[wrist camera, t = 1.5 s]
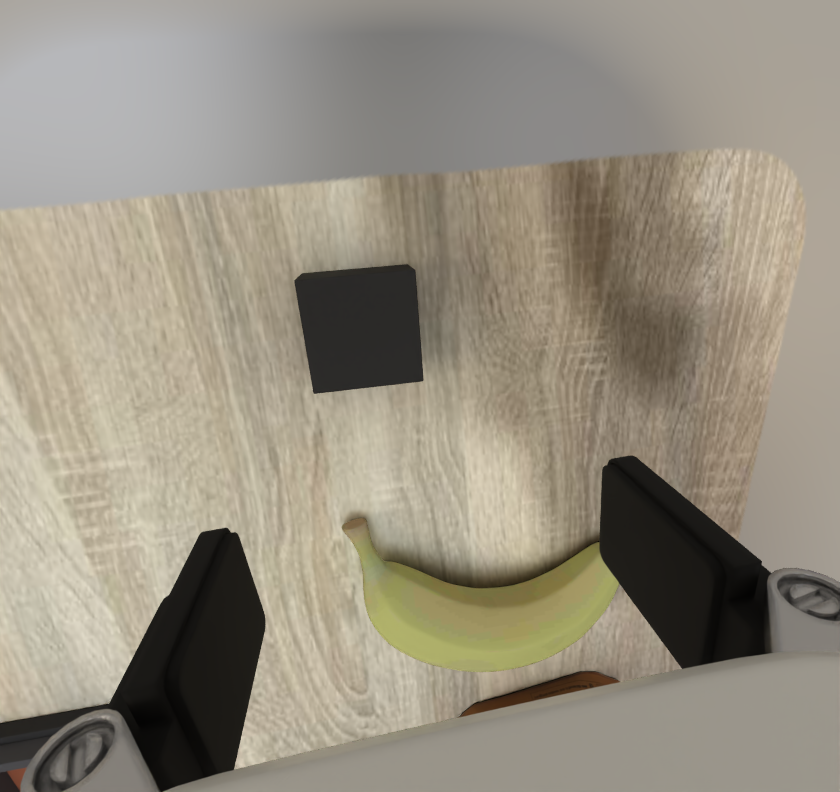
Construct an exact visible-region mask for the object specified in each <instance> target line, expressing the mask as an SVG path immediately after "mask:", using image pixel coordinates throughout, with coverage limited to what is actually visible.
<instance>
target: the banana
mask: <svg viewBox="0 0 840 792" xmlns="http://www.w3.org/2000/svg"><path fill="white" fill-rule="evenodd" d="M342 529H343V531H344V533H345V534H346V535H347V536H348V537H349V538H350V540H351V541H352V543H353V544H354V546H355V547H356V549H357V551H358V553H359V556H360V560H361V565H362V570H363V590H364V599H365V605H366V609H367V613H368V615H369V618H370V620H371V622H372V624H373V625H374V627H375V628H376V630H377V631H378V632H379V634H380V635H381V636H382V637H383V638H384V639H385V640H386V641H387V642H388V643H389V644H390V645H392V646H393V647H394V648H396V649H397V650H399V651H401V652H403V653H405V654H406V655H408V656H410V657H413V658H415V659H417V660H420V661H422V662H425V663H428V664H431V665H435V666H439V667H443V668H448V669H453V670H459V671H468V672H493V671H502V670H508V669H514V668H518V667H523V666H526V665H530V664H533V663H536V662H539V661H542V660H544V659H546V658H549V657H551V656H553V655H555V654H557V653H558V652H560V651H562V650H563V649H565V648H567V647H568V646H570V645H571V644H573V643H574V642H576V641H577V640H579V639H580V638H581V637H582V636H583V635H584V634H585V633H586V632H587V631H588V630H589V629H590V628H591V627H592V626H593V625H594V623H595V622H596V621H597V620H598V619H599V618H600V617H601V615H602V614H603V613H604V612H605V610H606V609H607V607H608V606H609V604H610V602H611V601H612V599H613V597H614V595H615V593H616V590H617V588H618V586H619V582H618V581H617V580H616V578H615V577H614V575H613V574H612V573H611V571H610V570H609V569H608V567H607V566H606V565H605V563H604V562H603V560H602V557H601V555H600V550H599V542H597V543H595V544H592V545H590V546H589V547H587V548H586V549H584V550H583V551H581V552H580V553H578V554H577V555H575V556H574V557H572V558H571V559H569V560H568V561H566V562H565V563H563V564H561V565H560V566H558V567H557V568H555V569H553V570H551V571H549V572H547V573H545V574H543V575H541V576H538V577H536V578H534V579H531V580H529V581H526V582H523V583H519V584H516V585H511V586H506V587H496V588H470V587H464V586H459V585H454V584H450V583H447V582H444V581H441V580H439V579H436V578H434V577H432V576H429V575H427V574H425V573H423V572H420V571H418V570H416V569H413V568H411V567H408V566H405V565H402V564H399V563H396V562H391V561H383V560H382V559H381V557H380V556H379V554H378V553H377V551H376V550H375V548H374V547H373V544H372V541H371V538H370V534H369V530H368V525H367V521H366V519H364V518H358V519H354V520H351V521H349V522H347V523H345V524H344V525H343V526H342Z"/></svg>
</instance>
